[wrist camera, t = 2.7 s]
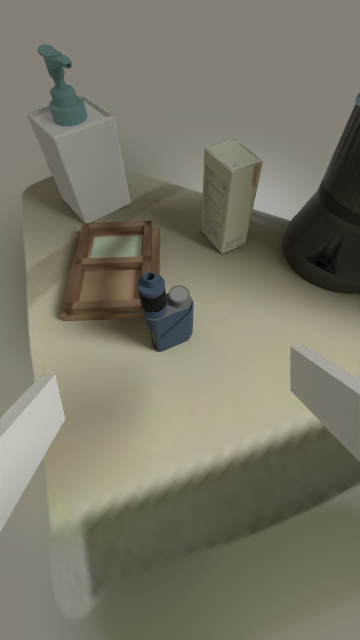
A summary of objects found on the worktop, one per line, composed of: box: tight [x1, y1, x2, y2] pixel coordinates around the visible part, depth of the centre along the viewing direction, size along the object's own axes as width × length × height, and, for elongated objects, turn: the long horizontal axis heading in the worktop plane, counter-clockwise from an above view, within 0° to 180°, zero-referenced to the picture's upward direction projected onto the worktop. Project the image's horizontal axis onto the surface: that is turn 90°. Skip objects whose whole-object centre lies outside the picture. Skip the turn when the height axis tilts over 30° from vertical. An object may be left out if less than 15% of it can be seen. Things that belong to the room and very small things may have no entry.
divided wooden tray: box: [60, 221, 160, 321], centre depth 37 cm, size 12×15×3 cm
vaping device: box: [137, 272, 194, 352], centre depth 28 cm, size 3×5×12 cm, turn 114°
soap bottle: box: [27, 45, 131, 223], centre depth 39 cm, size 9×9×19 cm
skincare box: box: [201, 139, 263, 254], centre depth 37 cm, size 6×4×12 cm
